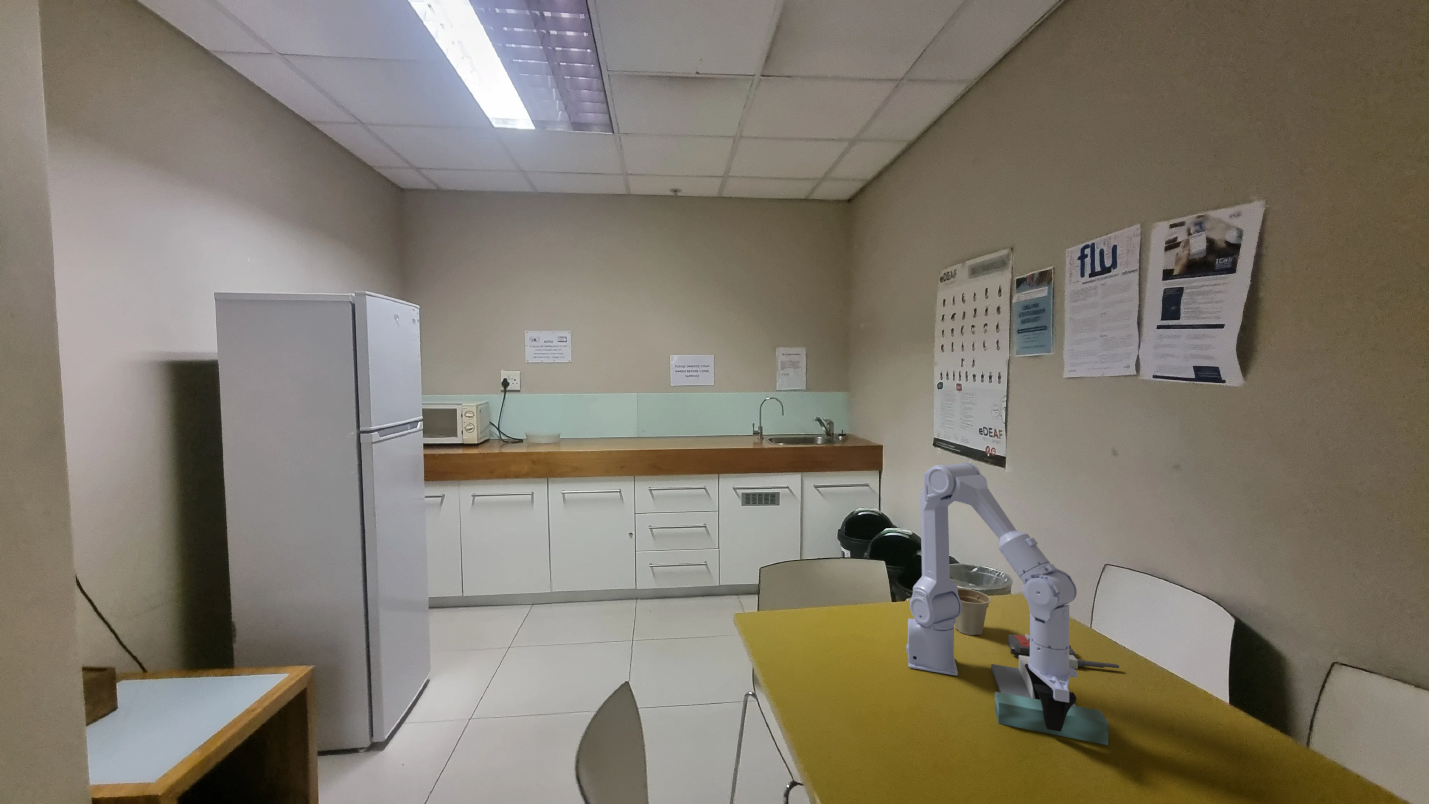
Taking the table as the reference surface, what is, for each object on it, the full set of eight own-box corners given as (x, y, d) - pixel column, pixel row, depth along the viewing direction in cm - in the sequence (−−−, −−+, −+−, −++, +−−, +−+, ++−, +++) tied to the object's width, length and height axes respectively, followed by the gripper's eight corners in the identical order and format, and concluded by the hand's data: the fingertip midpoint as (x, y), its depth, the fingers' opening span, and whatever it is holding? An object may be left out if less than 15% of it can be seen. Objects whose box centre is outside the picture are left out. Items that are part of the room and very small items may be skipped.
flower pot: (984, 623, 127) (984, 590, 127) (996, 641, 118) (996, 604, 118) (944, 620, 129) (944, 586, 129) (952, 637, 120) (953, 601, 120)
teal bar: (998, 725, 88) (998, 702, 88) (994, 713, 91) (995, 691, 91) (1108, 746, 83) (1108, 722, 82) (1100, 733, 86) (1100, 710, 86)
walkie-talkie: (1014, 663, 109) (1121, 676, 104) (1014, 643, 108) (1121, 654, 104) (1001, 644, 117) (1100, 654, 112) (1001, 625, 117) (1100, 635, 112)
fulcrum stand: (1002, 700, 95) (1002, 679, 95) (991, 668, 106) (991, 649, 106) (1077, 714, 90) (1077, 692, 90) (1057, 679, 102) (1057, 659, 102)
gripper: (1092, 666, 79) (1091, 752, 79) (1063, 627, 92) (1062, 700, 92) (1040, 659, 81) (1039, 742, 81) (1019, 621, 95) (1018, 692, 95)
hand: (1048, 719), depth 87 cm, fingers open, 5 cm apart
